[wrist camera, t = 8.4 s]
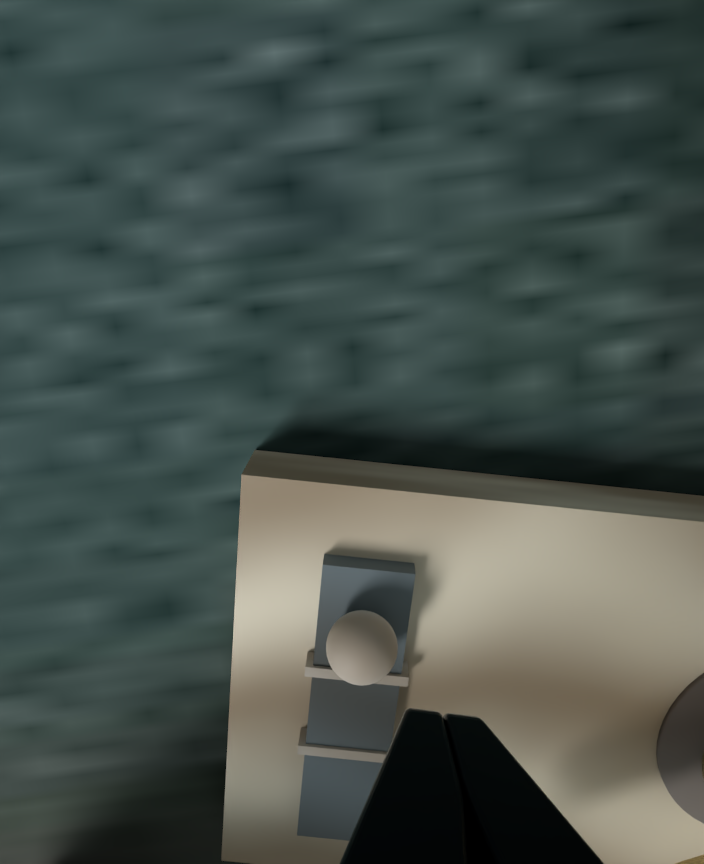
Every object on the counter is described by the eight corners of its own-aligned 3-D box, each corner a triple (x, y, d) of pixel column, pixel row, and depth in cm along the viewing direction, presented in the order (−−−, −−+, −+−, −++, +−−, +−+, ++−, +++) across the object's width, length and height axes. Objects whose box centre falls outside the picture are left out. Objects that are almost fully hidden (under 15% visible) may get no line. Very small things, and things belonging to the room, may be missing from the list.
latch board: (929, 878, 23) (1055, 1025, 19) (233, 807, 23) (202, 938, 19) (1090, 535, 19) (1295, 623, 15) (254, 449, 19) (221, 513, 15)
